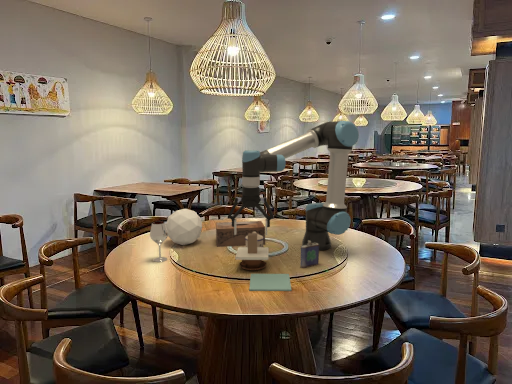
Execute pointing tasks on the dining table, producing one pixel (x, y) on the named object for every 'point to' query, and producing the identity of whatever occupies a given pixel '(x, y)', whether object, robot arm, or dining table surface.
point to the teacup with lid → (259, 240)
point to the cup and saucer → (252, 264)
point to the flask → (309, 255)
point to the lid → (252, 250)
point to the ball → (184, 226)
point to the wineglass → (159, 237)
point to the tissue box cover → (243, 228)
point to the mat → (270, 282)
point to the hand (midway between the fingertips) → (250, 234)
